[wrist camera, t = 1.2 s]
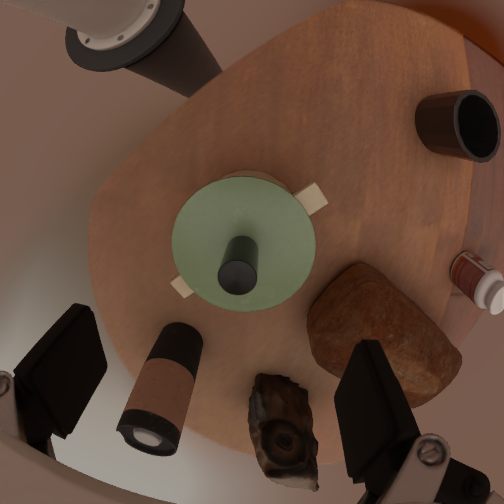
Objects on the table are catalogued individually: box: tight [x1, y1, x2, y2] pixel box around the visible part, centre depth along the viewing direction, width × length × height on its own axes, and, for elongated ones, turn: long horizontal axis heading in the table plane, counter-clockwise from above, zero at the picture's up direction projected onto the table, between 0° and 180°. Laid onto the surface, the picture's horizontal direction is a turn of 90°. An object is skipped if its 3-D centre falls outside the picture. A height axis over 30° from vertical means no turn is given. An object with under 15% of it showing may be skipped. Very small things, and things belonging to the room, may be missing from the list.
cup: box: [415, 90, 501, 163], centre depth 25 cm, size 8×8×9 cm
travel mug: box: [116, 323, 203, 456], centre depth 34 cm, size 8×8×20 cm
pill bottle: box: [450, 251, 504, 315], centre depth 31 cm, size 6×6×11 cm
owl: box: [248, 373, 319, 492], centre depth 38 cm, size 13×13×20 cm
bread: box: [307, 263, 462, 408], centre depth 35 cm, size 14×28×12 cm, turn 54°
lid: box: [172, 176, 316, 312], centre depth 24 cm, size 14×14×7 cm
